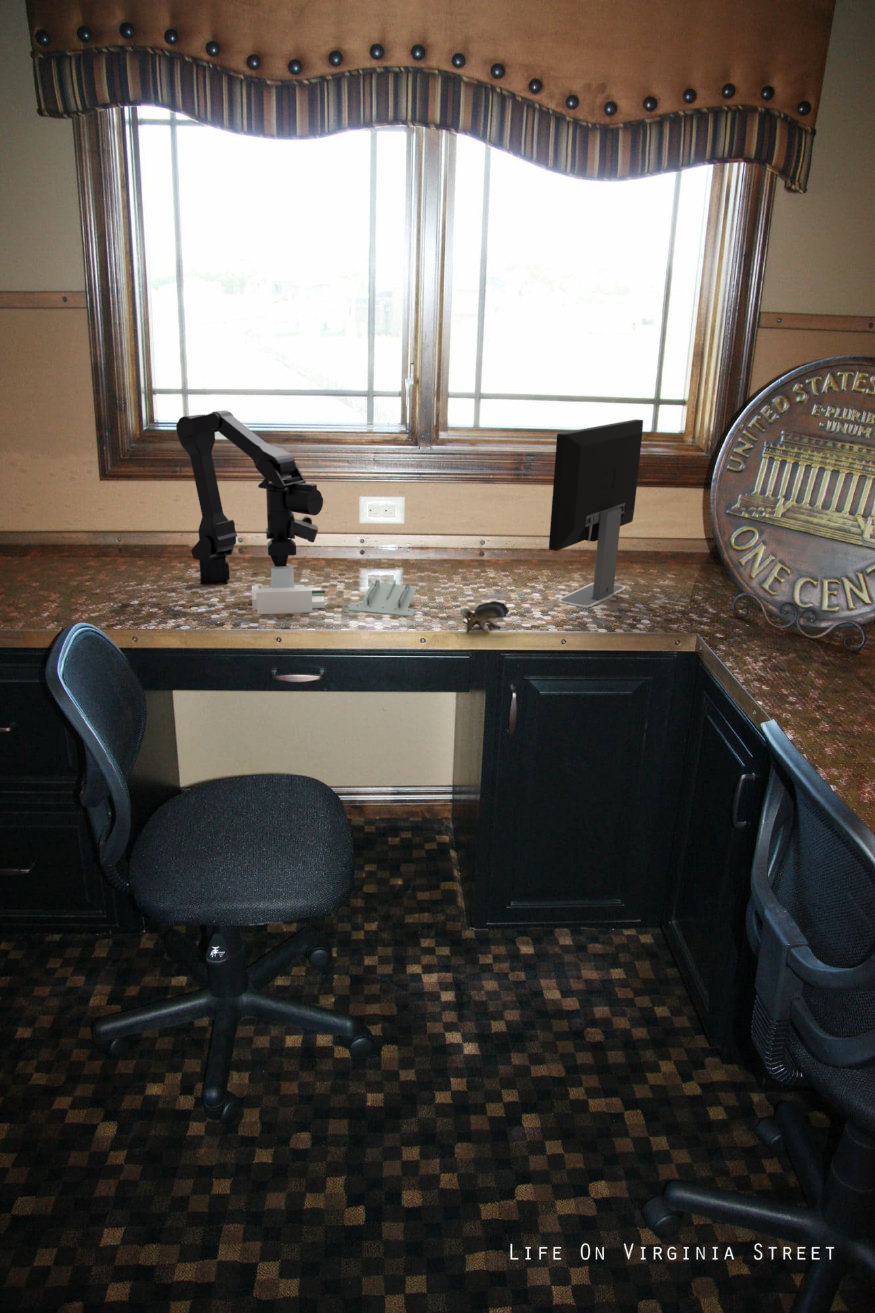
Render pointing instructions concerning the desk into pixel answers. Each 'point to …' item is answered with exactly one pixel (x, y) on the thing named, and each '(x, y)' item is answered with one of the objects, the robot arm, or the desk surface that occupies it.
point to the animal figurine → (484, 615)
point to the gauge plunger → (285, 578)
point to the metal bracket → (387, 599)
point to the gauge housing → (286, 600)
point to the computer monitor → (595, 498)
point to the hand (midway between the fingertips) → (281, 576)
